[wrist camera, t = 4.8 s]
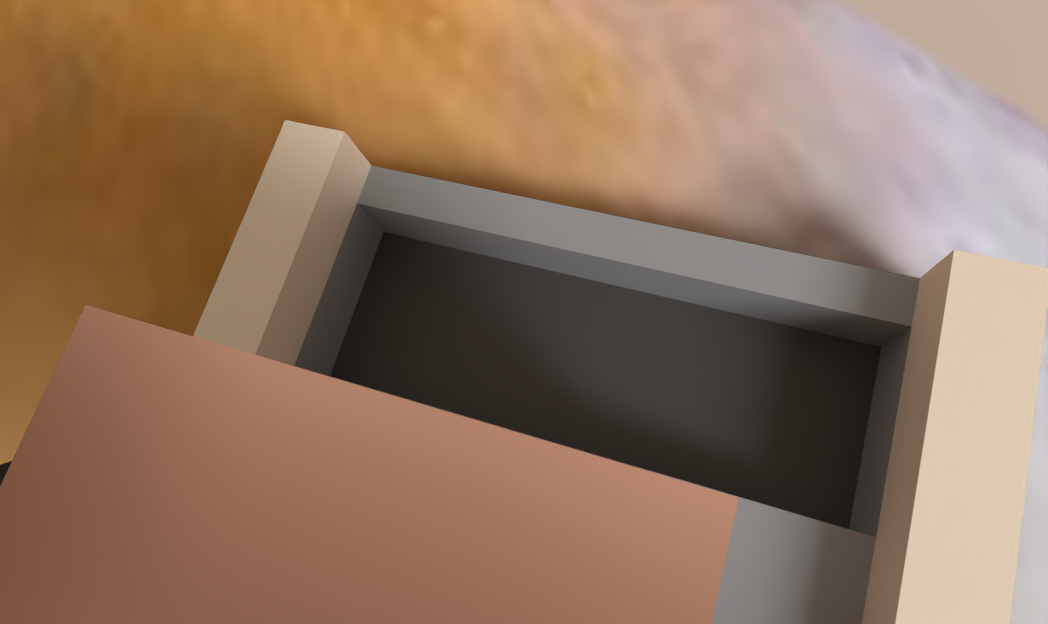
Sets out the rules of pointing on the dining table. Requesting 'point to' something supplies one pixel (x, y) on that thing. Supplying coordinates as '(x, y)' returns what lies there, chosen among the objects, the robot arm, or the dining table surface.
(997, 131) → the dining table surface
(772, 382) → the trap board
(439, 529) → the terracotta block
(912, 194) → the dining table surface
